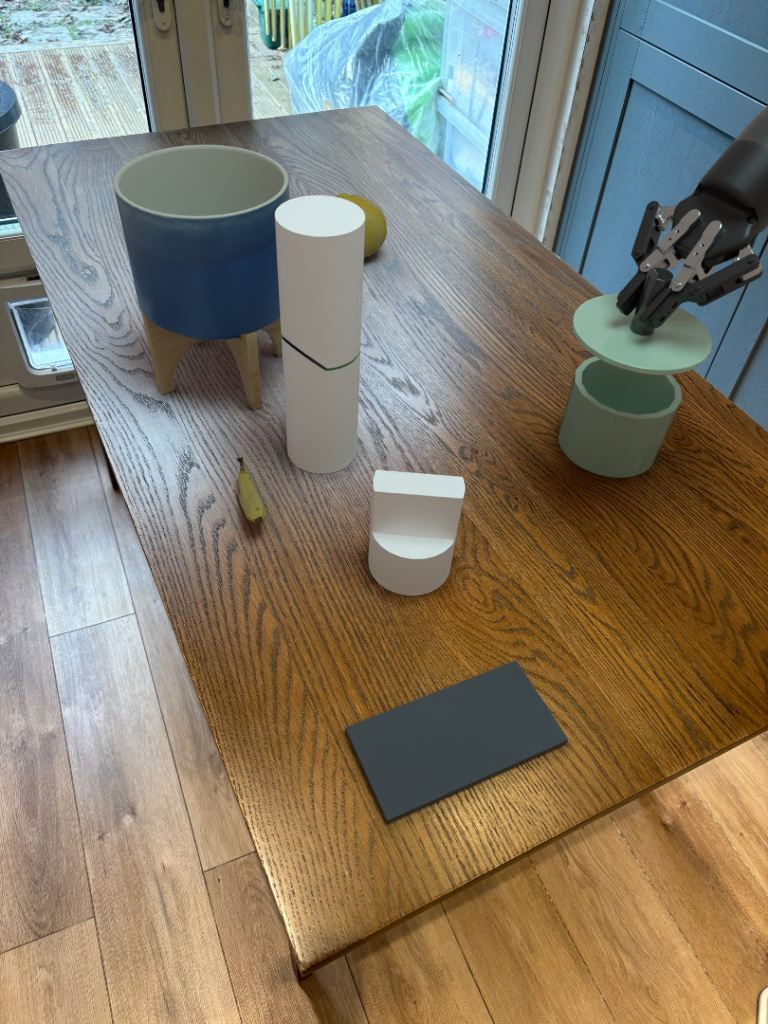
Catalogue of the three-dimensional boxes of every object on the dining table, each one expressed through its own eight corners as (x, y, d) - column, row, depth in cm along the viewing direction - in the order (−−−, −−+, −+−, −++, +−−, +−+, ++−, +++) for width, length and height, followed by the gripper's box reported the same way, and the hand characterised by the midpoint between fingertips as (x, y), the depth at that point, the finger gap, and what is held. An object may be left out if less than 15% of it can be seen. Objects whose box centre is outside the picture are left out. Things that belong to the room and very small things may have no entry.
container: (314, 483, 89) (309, 245, 67) (273, 444, 93) (257, 209, 71) (370, 454, 93) (383, 221, 71) (329, 418, 97) (329, 188, 75)
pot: (654, 422, 100) (678, 363, 93) (657, 486, 92) (684, 426, 85) (560, 405, 102) (577, 346, 95) (555, 467, 93) (573, 407, 86)
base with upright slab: (450, 535, 84) (464, 456, 76) (450, 599, 78) (465, 521, 70) (371, 528, 85) (376, 449, 76) (364, 592, 78) (369, 513, 70)
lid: (703, 315, 79) (728, 251, 74) (713, 391, 70) (743, 323, 65) (573, 295, 81) (590, 230, 75) (566, 366, 71) (584, 299, 66)
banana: (271, 539, 83) (269, 515, 80) (250, 544, 82) (247, 519, 79) (252, 478, 89) (250, 453, 86) (232, 482, 88) (229, 457, 86)
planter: (189, 433, 94) (152, 233, 75) (133, 355, 104) (88, 161, 85) (322, 386, 102) (319, 194, 83) (257, 318, 112) (242, 133, 93)
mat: (514, 664, 73) (516, 659, 73) (566, 743, 68) (568, 739, 67) (345, 731, 68) (345, 727, 67) (386, 824, 62) (387, 820, 62)
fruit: (380, 273, 123) (383, 214, 116) (316, 265, 124) (315, 205, 117) (390, 244, 130) (393, 186, 123) (329, 236, 131) (329, 179, 124)
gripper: (697, 114, 69) (569, 267, 73) (828, 169, 61) (676, 338, 65) (715, 163, 75) (595, 302, 79) (836, 219, 67) (696, 371, 71)
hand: (632, 317), depth 72 cm, fingers closed on lid, 2 cm apart
